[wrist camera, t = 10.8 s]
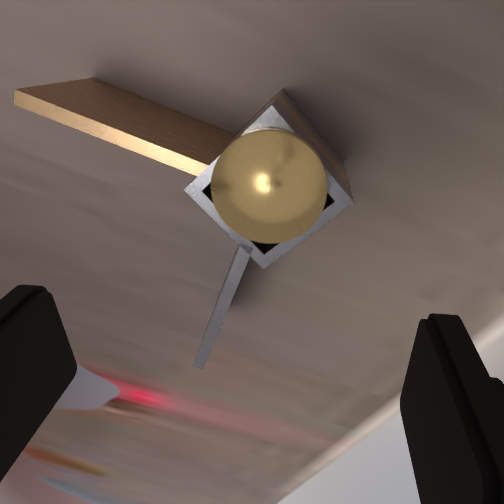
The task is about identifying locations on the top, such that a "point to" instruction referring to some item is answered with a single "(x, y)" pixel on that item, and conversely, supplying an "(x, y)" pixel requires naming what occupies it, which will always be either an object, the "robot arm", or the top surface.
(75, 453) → the top surface
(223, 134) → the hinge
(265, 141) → the gold rounded cylinder
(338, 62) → the top surface
